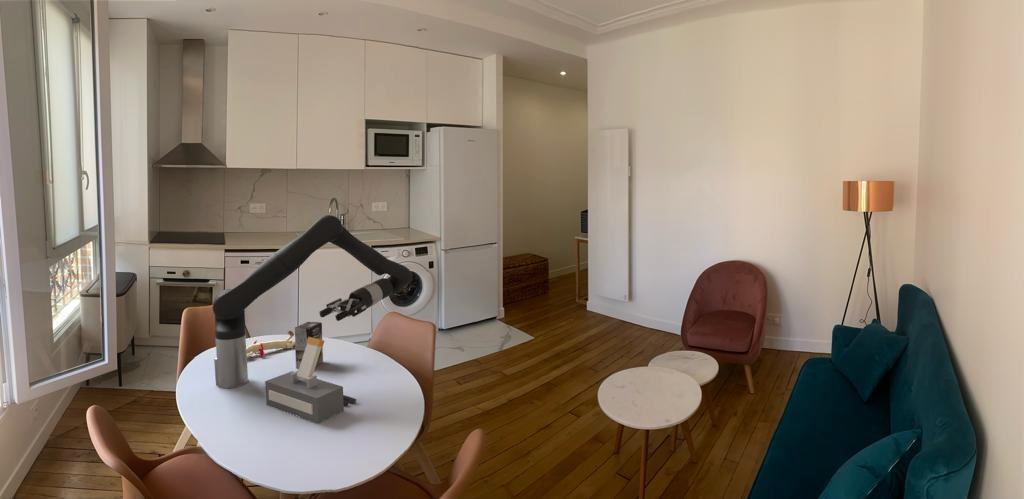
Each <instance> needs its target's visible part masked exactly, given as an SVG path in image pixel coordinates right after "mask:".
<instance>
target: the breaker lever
mask: <svg viewBox="0 0 1024 499" xmlns="http://www.w3.org/2000/svg"><path fill="white" fill-rule="evenodd" d="M306 343H307V346H306V349H305V352H304V355H303V358H302V361H301V364H300V367H299V368H298V370H297V371H298V374H297V376H296V377H295V379H296V380H299V381H303V382H306V383H307V378H309V377H312V376H314V373H315V369H316V363H317V360H318V357H319V354H320V351H321V347H324V343H325V340H323V339H322V340H320V339H316V338H312V337H308V339H307V342H306Z"/></svg>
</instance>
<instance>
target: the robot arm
mask: <svg viewBox="0 0 1024 499" xmlns="http://www.w3.org/2000/svg"><path fill="white" fill-rule="evenodd" d="M328 243H331V244H332V245H334V246H337V247H338V248H340V249H341V250H343V251H345V252H346V253H347V254H349V255H350V256H351V257H353V258H354V259H356V260H357V261H358V262H359V263H360V264H362V265H363V266H364V267H366V268H367V269H368V270H370V271H371V272H372V273H375V274H376V275H377V276H379V277H380V276H383V275H387V276H389V277H387V278H384V277H383V278H379V279H376V280H374V281H373V282H371V283H369V284H366V285H363V286H362V287H359V288H357V289H355V290H354V291H351V292H350V293H349V296H348V298H345V299H342V298H340V297H339V298H338V299H335V300H333V301H331V302H329V303H327V304H325V307H326V308H323V309H322V310H320V311H319V313H318V314H319V316H320V318H325V317H326V316H327V317H328V316H329V315H330V314H333V313H337V314H335V321H336V322H340V321H341V320H345V318H347V317H351V316H352V317H354V318H355V317H357V316H358V315H360V314H362V313H364V312H365V311H367V309H369V308H371V307H372V306H374V305H376V304H378V303H379V302H381V301H382V300H384V299H386V298H387V297H388V298H389V296H393V295H396V294H398V293H400V292H402V291H403V290H404V289H405V288H406V287H407V286H408V285H409V284H410V283H411V282H412V280H413V273H412V271H411V270H410V269H409V268H408V267H407V266H405V265H403V264H402V263H401V264H400V263H398V262H396V261H393V260H391V259H389V258H387V257H386V256H384V255H383V254H381V253H380V252H379V251H377V249H375V248H373V247H371V246H370V245H369V244H366V243H365V242H363V241H362V240H360V239H358V238H357V237H355V235H353V234H352V233H351V232H350V231H349V230H347V228H345V226H344V225H343V224H342V221H341V220H340V219H339V218H338V217H336V216H335V215H331V214H327V215H323V216H321V217H319V218H318V219H317V220H316V221H315V222H314V223H313V224H312V225H311V226H310V227H309V228H308V229H307V230H306V231H304V232H303V233H302V234H301V235H300V236H297V237H296V238H295V239H294V240H292V241H290V242H288V243H286V244H285V245H284V246H282V247H281V248H280V249H278V250H277V251H275V252H273V254H271V255H270V256H269V257H267V258H266V259H264V260H263V261H262V262H261V263H260V264H259V265H258V266H257V267H256V268H255V269H254V270H253V271H252V272H251V273H250V274H249V275H248V276H247V277H246V278H245V279H244V280H243V281H242V282H240V283H239V284H237V285H236V286H234V287H233V288H226V289H223V290H221V291H219V292H218V293H217V294H216V295H215V297H214V299H213V302H212V312H213V314H214V320H215V321H214V325H215V326H214V336H215V337H214V338H215V348H216V349H215V350H216V357H215V358H214V360H213V362H214V363H213V364H214V376H215V386H218V387H219V388H223V389H231V388H238V387H241V386H243V385H246V384H247V383H248V382H249V374H248V359H247V352H246V347H247V338H246V335H247V334H246V314H245V312H246V311H245V310H246V309H247V308H248V307H249V306H250V305H251V304H252V303H253V302H255V300H256V299H258V298H259V297H260V296H262V295H263V294H265V293H266V292H268V291H269V290H271V289H273V287H276V286H277V285H278V284H279V283H281V282H282V281H283V280H285V279H286V278H288V277H289V276H290V275H292V274H293V273H295V272H296V271H297V270H298V269H299V268H300V267H301V266H302V265H303V264H305V262H306V261H307V260H308V258H309V257H310V256H312V255H313V254H314V253H315V252H316V251H318V250H319V249H320V248H322V247H323V246H325V245H326V244H328Z"/></svg>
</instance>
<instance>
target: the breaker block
mask: <svg viewBox="0 0 1024 499" xmlns="http://www.w3.org/2000/svg"><path fill="white" fill-rule="evenodd" d="M297 374H298V370H296V371H293V370H292V371H289V372H285V373H283V374H281V375H278V376H275V377H273V378H270V379H267V380H265V381H264V386H265V406H268V407H271V408H273V407H274V409H276V408H277V409H276V410H279V411H282V412H284V411H285V413H287V412H288V413H287V414H290V413H291V414H290V415H293V414H294V415H293V416H296V415H297V416H296V417H298V416H300V417H299V418H301V417H302V418H301V419H304V418H305V419H304V420H307V421H309V420H310V422H312V421H313V422H312V423H316V424H320V423H322V422H324V421H326V420H328V419H330V418H332V417H334V416H336V415H338V414H340V413H342V412H344V411H343V410H345V409H344V407H347V406H348V405H349V403H351V404H354V403H355V404H356V402H357V398H354V397H351V396H347V395H346V394H345V395H344V386H342V385H339V384H336V383H333V382H328V381H325V380H322V379H319V378H318V377H317V375H314V374H313V376H312V377H309V378H307V383H306V382H303V381H299V380H296V379H295V377H296V376H297ZM346 405H347V406H346ZM341 411H342V412H341ZM339 412H340V413H339ZM337 413H338V414H337ZM335 414H336V415H335ZM333 415H334V416H333ZM331 416H332V417H331ZM329 417H330V418H329ZM327 418H328V419H327ZM325 419H326V420H325ZM323 420H324V421H323ZM321 421H322V422H321Z"/></svg>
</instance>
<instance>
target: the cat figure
mask: <svg viewBox="0 0 1024 499" xmlns="http://www.w3.org/2000/svg"><path fill="white" fill-rule="evenodd" d="M287 334H288V337H286V339H282V340H281V339H280V340H277V339H275V340H270V341H263V342H262V341H261V342H258V340H255V341H254V342H253V343H252V344H249V345H246V352H247V360H249V358H250V356H251V355H253V354H257V353H258V355H259V356H260V357H261V358H263V357H264V355H265V352H264V351H268V350H274V349H275V350H279V349H283V350H284V349H291V348H293V349H295V341H293V339H292V338H293V337H295V333H294V332H293V331H292V330H290V329H289V330H287Z"/></svg>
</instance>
